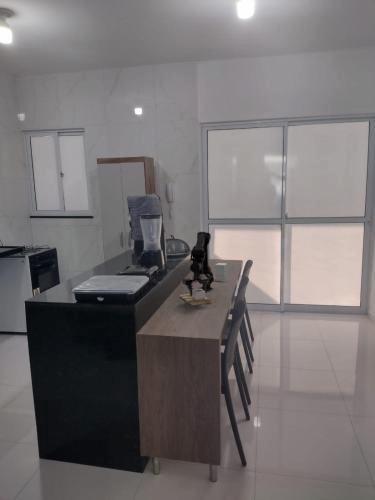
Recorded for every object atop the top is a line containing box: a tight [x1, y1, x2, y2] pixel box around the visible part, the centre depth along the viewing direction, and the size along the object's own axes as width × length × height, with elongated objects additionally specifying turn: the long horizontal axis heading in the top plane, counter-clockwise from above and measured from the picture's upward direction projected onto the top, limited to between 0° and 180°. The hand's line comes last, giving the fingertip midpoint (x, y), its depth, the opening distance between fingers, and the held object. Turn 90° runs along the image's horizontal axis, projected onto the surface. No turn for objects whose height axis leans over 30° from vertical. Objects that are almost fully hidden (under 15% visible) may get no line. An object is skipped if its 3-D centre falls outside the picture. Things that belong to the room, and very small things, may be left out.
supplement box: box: [214, 262, 229, 283], centre depth 276 cm, size 7×7×13 cm
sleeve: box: [192, 288, 206, 302], centre depth 225 cm, size 6×6×6 cm
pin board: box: [179, 287, 213, 306], centre depth 230 cm, size 20×13×6 cm, turn 23°
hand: (198, 294), depth 225 cm, fingers open, 9 cm apart
